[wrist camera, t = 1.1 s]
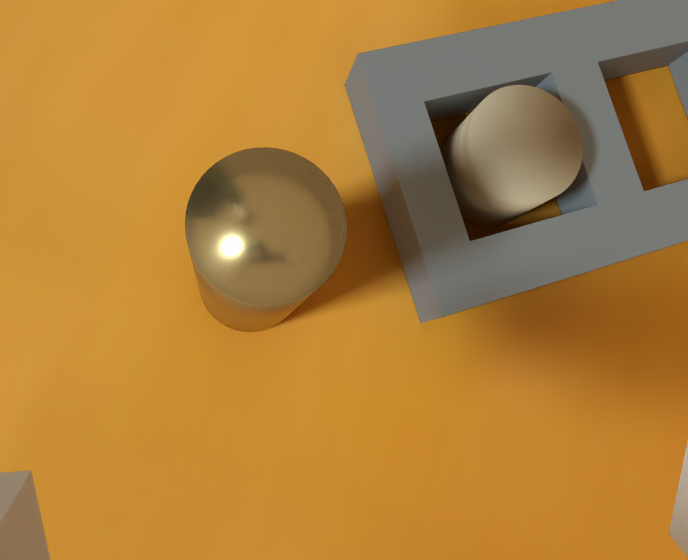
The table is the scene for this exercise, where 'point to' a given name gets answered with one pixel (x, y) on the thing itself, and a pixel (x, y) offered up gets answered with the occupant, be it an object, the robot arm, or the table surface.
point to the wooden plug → (512, 154)
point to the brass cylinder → (263, 235)
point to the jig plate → (466, 94)
